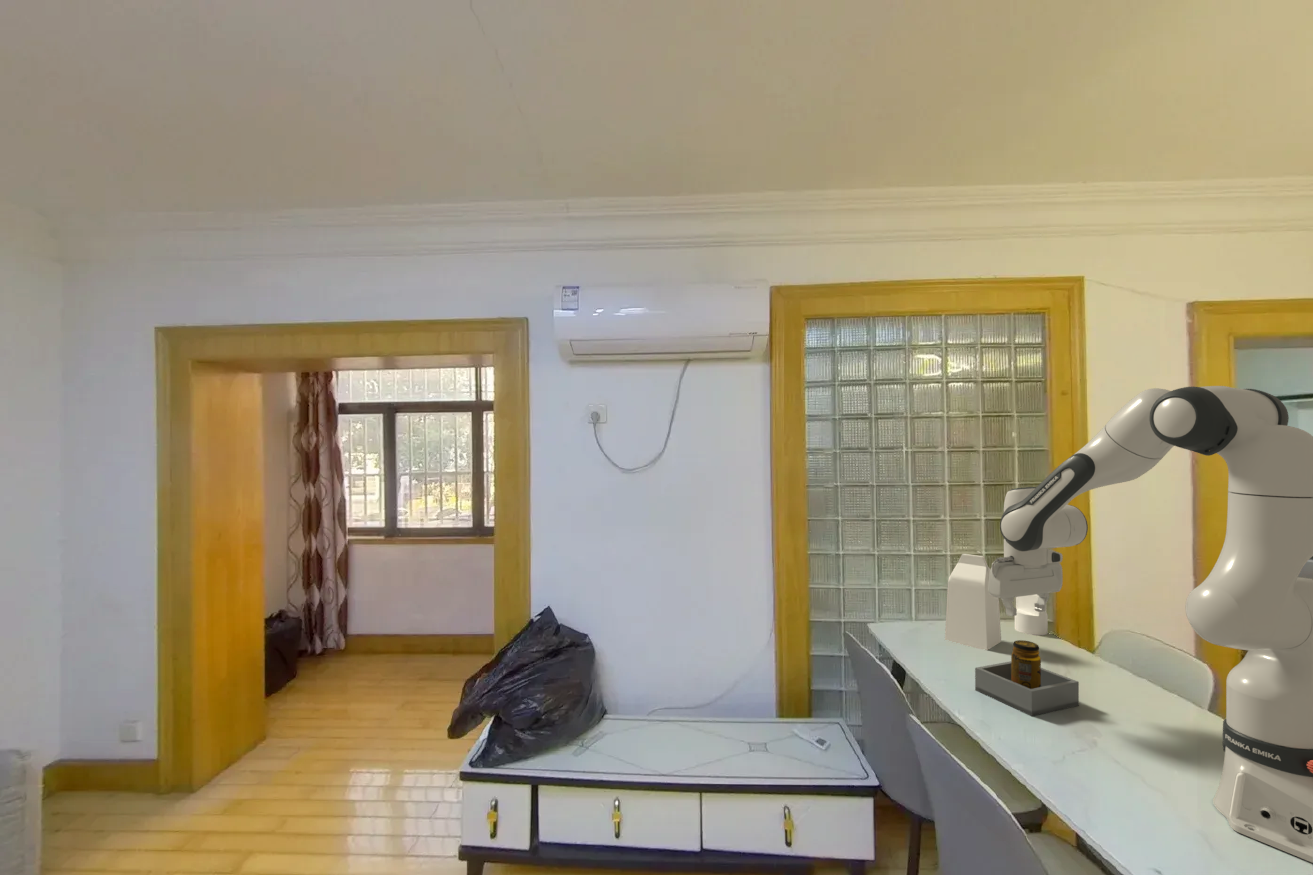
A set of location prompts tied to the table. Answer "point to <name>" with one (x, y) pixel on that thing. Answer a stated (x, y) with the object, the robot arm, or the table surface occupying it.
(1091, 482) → the robot arm
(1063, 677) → the box
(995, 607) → the milk
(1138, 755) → the table surface
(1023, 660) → the condiment
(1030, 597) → the base with upright slab
